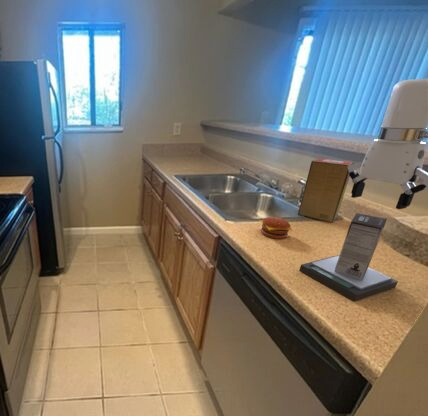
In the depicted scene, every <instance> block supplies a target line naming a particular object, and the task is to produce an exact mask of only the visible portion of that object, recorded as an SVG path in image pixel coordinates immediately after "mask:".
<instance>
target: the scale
mask: <svg viewBox="0 0 428 416" xmlns="http://www.w3.org/2000/svg"><path fill="white" fill-rule="evenodd" d="M339 256H340V254H337V255H333V256H330V257H329V256H328V257H325V258H321V259H318V260H313V261H310V262H305V263H302V264H300V266H299V272H301V273H303V274H304V275H306V276H308V277H310V278H311V279H314V280H315V281H317V282H319V283H320V284H322V285H324V286H326V287H328V288H330V289H331V290H333V291H334V292H337V293H338V294H340V295H342V296H344V297H345V298H347V299H349V300H351V301H353V302H357V301H361V300H364V299H366V298H370V297H372V296H375V295H378V294H382V293H384V292H387V291H390V290H392V288H393V289H396V288H397V284H398V283H399V280H397V279H394V278H393V277H390V276H389V275H387V274H384V273H382V272H380V271H377V270H375V269H373V268H371V267H368V269H367V271H366V273H365V276H364V278H363V280H358V279H355V278H352V277H349V276H346V275H343V274H340V273H337V272H335V267H336V264H337V261H338V259H339Z"/></svg>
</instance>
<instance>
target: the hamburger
mask: <svg viewBox="0 0 428 416" xmlns="http://www.w3.org/2000/svg"><path fill="white" fill-rule="evenodd" d="M259 222H260V223H262V224H261V229H260V232H261V234H262V235H263V236H265V237H266V238H267V237H268V238H270V239H274V240H275V239H276V240H284V239H287V237H288V235H289V232H290V231H291V232H294V229H292V227H291V223H290V222H289V221H288V220H286V219H284V218H282V217H279V216H268V217H266V218H264V219H260V220H259Z"/></svg>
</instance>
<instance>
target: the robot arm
mask: <svg viewBox="0 0 428 416" xmlns="http://www.w3.org/2000/svg"><path fill="white" fill-rule="evenodd" d="M392 88H393V89H392V91H391V93H390V97H389V100H388V104H387V106H386V110H385V113H384V116H383V119H382V122H381V125H380V129H379V132H378V135H377V139H374V140H373V141H372V142H371V144H370V146H369V147H368V149H367V151H366V154H365V155H364V158H363V160H362V161H359V162H354V164H351V165H348V166H347V167H348V171H349V176H350V179H351V181H352V183H353V185H352V188H351V198H353V199H355V198H360V197H362V195H363V193H364V189H365V186H366V182H365V181H367V180H372V181H377V182H383V183H388V184H393V185H399V186H400V187H401V189H402V191H403V192H402V193H400V195H399V198H398V200H397V203H396V206H395V209H396V210H404V209H407V207H410V206H411V203H412V201H413V198H414V196H415V194H417V193H419V192H422V191H424V190H427V189H428V172H427V171H425V170H424V169H423V166H424V161H425V158H426V152H427V142H423V140H424V139H428V128H427V127H428V78H413V79H404V80H400V81H398V82H397V83H396V84H395V85H394V86H393V87H392ZM358 168H360V169H359V172H357V169H358ZM419 179H422V182H421V183H420V184H418V185H416V182H418V181H419Z"/></svg>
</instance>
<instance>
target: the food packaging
mask: <svg viewBox="0 0 428 416" xmlns="http://www.w3.org/2000/svg"><path fill="white" fill-rule="evenodd" d="M354 163H355V162H354V161H345V160H335V159H328V158H327V159H325V158H320V157H319V158H318V157H317V158H315V159H313V160H311V162H310V166H309V169H308V173H307V177H306V182H305V186H304V189H303V193H302V197H301V200H300V204H299V207H298V211H297V215H298V216H301V217H306V218H310V219H314V218H315V219H314V220H319V219H320V221H323V222H327V223H331V224H332V223H334V222H335V220H336V219H337V218H338V215H339V212H340V208H341V206H342V203H343V199H344V196H345V193H346V190H347V187H348V183H349V181H350V179H351V177H350V176H349V171H348V167H347V166H348V165H351V164H354Z"/></svg>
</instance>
